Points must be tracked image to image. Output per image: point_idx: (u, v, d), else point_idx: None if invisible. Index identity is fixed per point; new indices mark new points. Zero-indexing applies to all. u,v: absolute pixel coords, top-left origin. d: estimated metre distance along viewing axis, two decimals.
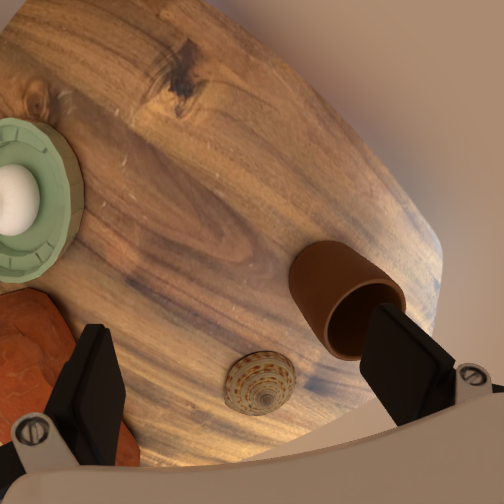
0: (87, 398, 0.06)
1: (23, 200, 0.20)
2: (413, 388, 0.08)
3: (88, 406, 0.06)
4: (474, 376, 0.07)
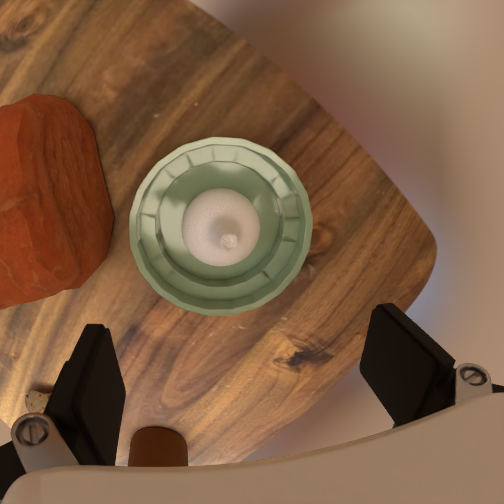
0: (87, 398, 0.06)
1: (222, 263, 0.25)
2: (413, 388, 0.08)
3: (88, 406, 0.06)
4: (474, 376, 0.07)
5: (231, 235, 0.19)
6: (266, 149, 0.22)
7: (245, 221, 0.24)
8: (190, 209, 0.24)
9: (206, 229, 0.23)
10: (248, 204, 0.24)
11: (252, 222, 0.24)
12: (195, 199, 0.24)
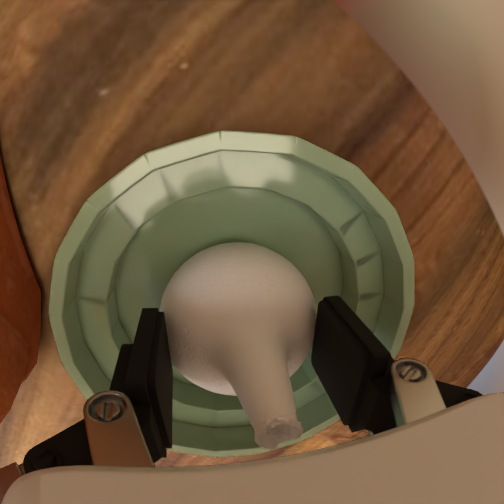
0: (157, 374, 0.07)
1: None
2: (351, 381, 0.09)
3: (158, 381, 0.07)
4: (411, 371, 0.07)
5: (286, 422, 0.06)
6: (347, 165, 0.09)
7: (295, 325, 0.11)
8: (174, 297, 0.11)
9: (210, 349, 0.10)
10: (299, 282, 0.11)
11: (308, 322, 0.11)
12: (184, 274, 0.11)
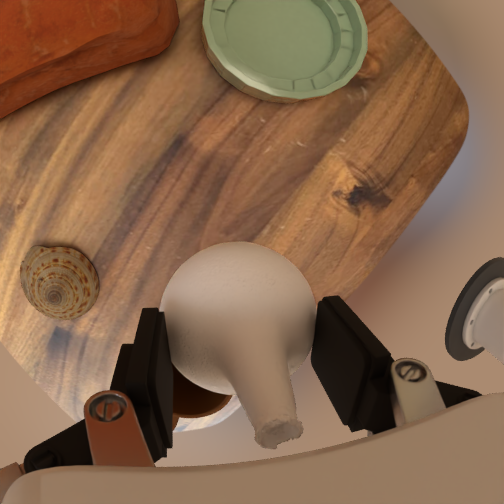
0: (157, 373, 0.07)
1: None
2: (351, 381, 0.09)
3: (158, 381, 0.07)
4: (411, 371, 0.07)
5: (286, 421, 0.06)
6: None
7: (295, 325, 0.11)
8: (174, 296, 0.11)
9: (210, 349, 0.10)
10: (299, 282, 0.11)
11: (308, 321, 0.11)
12: (184, 273, 0.11)
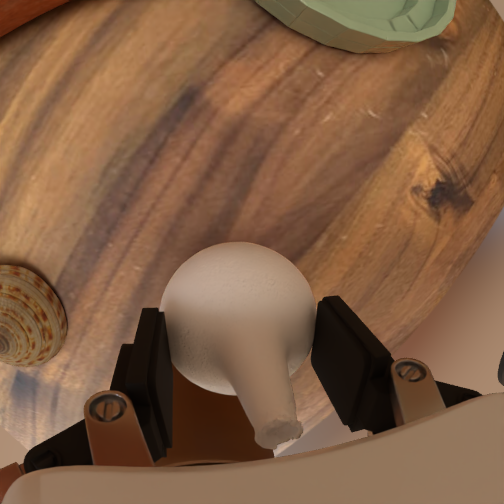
0: (158, 373, 0.07)
1: None
2: (350, 381, 0.09)
3: (158, 381, 0.07)
4: (411, 371, 0.07)
5: (286, 421, 0.06)
6: None
7: (295, 325, 0.11)
8: (174, 296, 0.11)
9: (210, 349, 0.10)
10: (299, 282, 0.11)
11: (308, 321, 0.11)
12: (184, 274, 0.11)
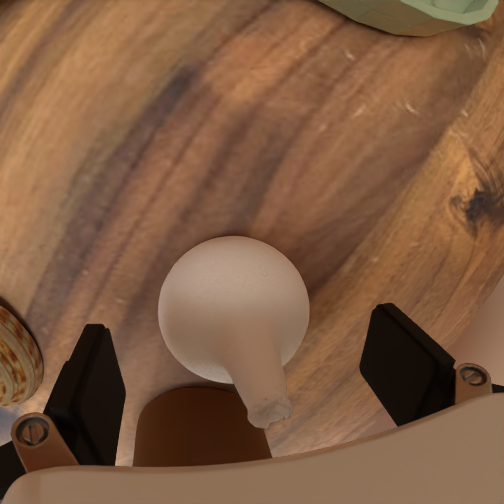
0: (87, 398, 0.06)
1: None
2: (413, 388, 0.08)
3: (88, 406, 0.06)
4: (474, 376, 0.07)
5: (276, 400, 0.07)
6: None
7: (288, 314, 0.11)
8: (172, 287, 0.11)
9: (206, 336, 0.10)
10: (291, 274, 0.12)
11: (300, 311, 0.12)
12: (182, 266, 0.12)
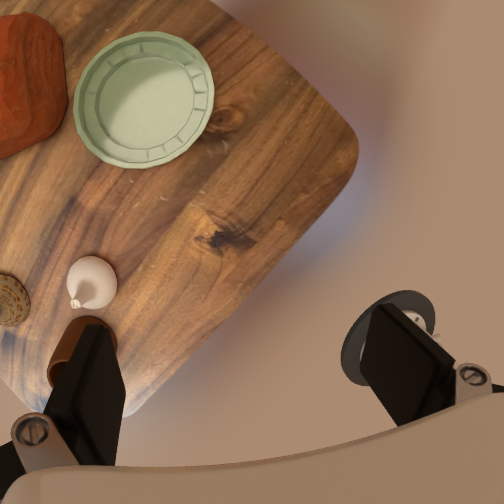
0: (87, 398, 0.06)
1: (91, 308, 0.33)
2: (413, 388, 0.08)
3: (88, 406, 0.06)
4: (474, 376, 0.07)
5: (75, 300, 0.27)
6: (177, 37, 0.25)
7: (99, 283, 0.32)
8: (69, 272, 0.32)
9: (75, 288, 0.31)
10: (103, 270, 0.32)
11: (105, 282, 0.32)
12: (72, 266, 0.32)
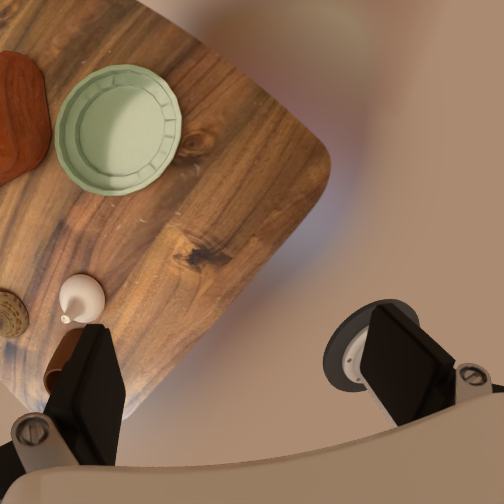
0: (87, 398, 0.06)
1: (82, 322, 0.35)
2: (413, 388, 0.08)
3: (88, 406, 0.06)
4: (474, 376, 0.07)
5: (65, 315, 0.30)
6: (145, 69, 0.27)
7: (87, 299, 0.34)
8: (61, 290, 0.34)
9: (66, 304, 0.33)
10: (91, 287, 0.35)
11: (93, 299, 0.34)
12: None
